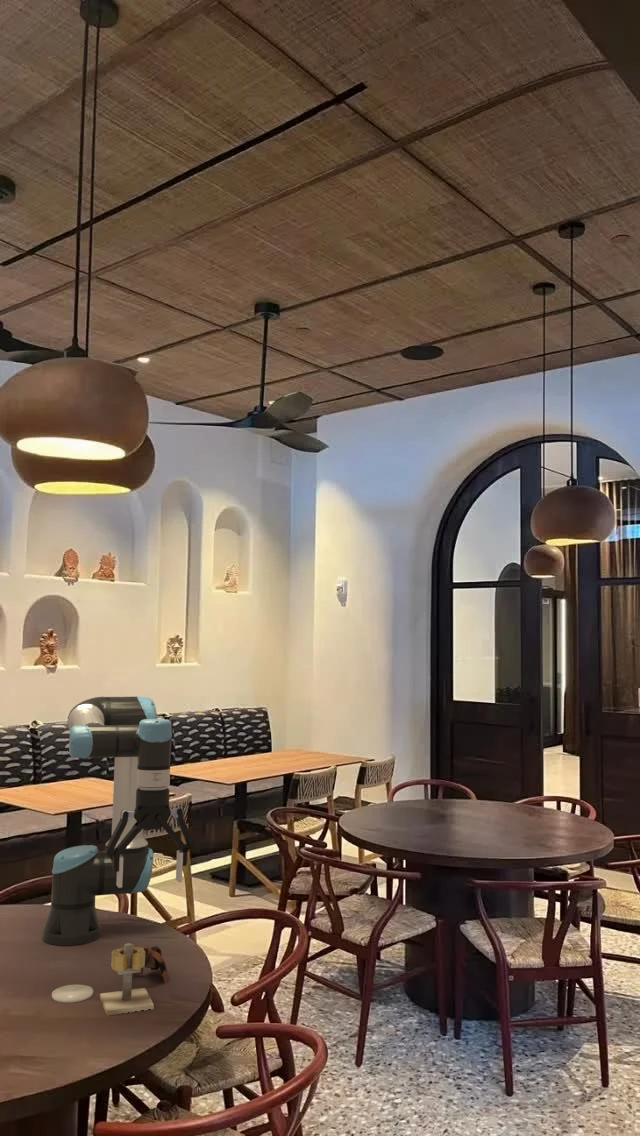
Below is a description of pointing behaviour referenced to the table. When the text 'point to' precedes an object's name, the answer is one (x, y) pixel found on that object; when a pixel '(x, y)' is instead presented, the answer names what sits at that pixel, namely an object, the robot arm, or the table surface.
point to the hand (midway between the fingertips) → (149, 883)
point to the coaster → (72, 993)
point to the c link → (121, 960)
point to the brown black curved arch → (154, 962)
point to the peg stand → (126, 992)
